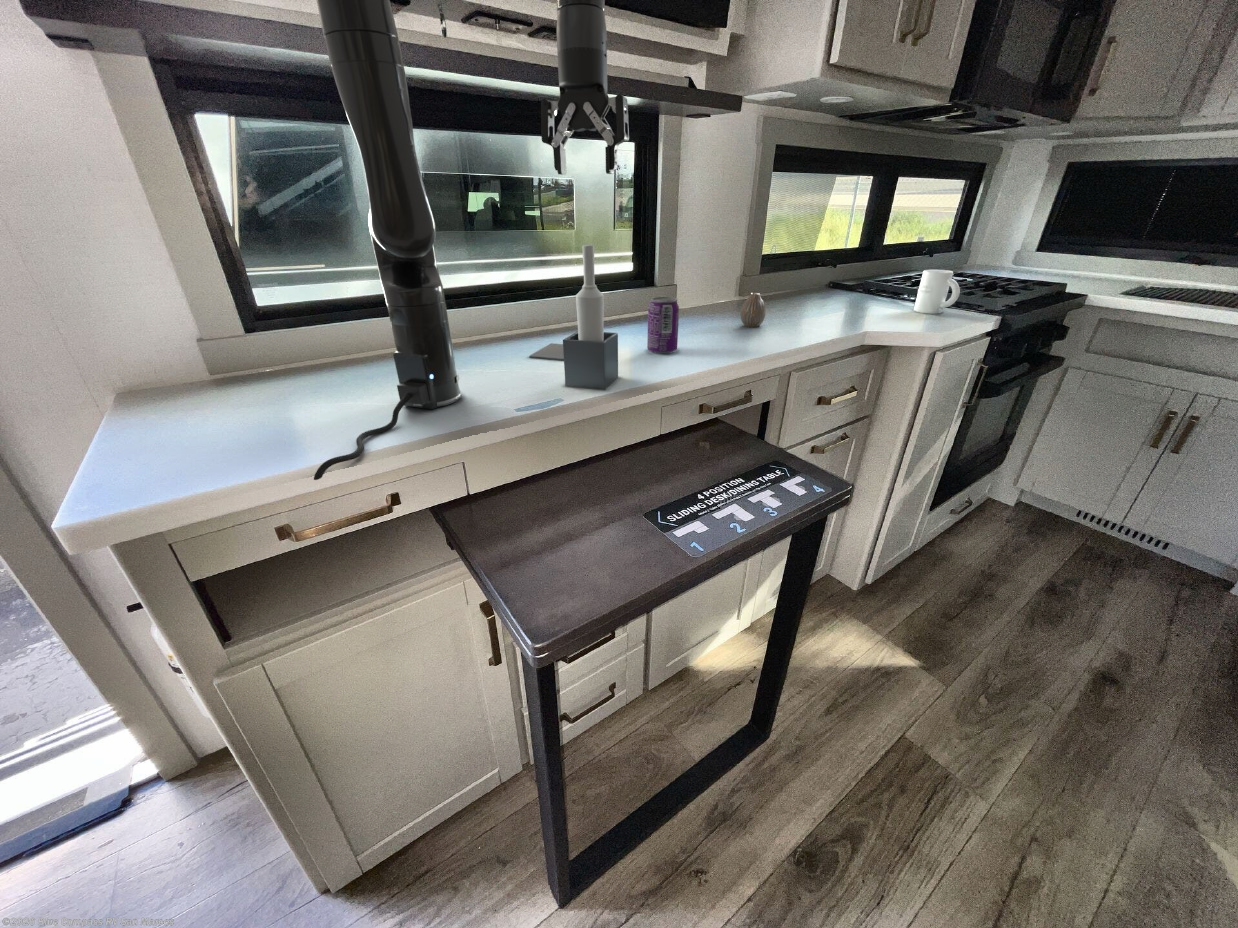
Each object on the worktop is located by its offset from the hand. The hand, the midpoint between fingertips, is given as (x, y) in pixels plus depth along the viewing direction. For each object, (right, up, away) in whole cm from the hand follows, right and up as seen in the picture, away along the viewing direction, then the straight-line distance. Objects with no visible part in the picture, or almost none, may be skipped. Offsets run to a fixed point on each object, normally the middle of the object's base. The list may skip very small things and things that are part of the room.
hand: (585, 174), depth 84 cm
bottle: (0, -32, +17) cm, 36 cm away
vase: (+43, -9, +60) cm, 75 cm away
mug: (+105, -1, +75) cm, 129 cm away
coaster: (-8, -22, +36) cm, 43 cm away
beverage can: (+16, -22, +36) cm, 45 cm away
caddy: (0, -32, +17) cm, 36 cm away
